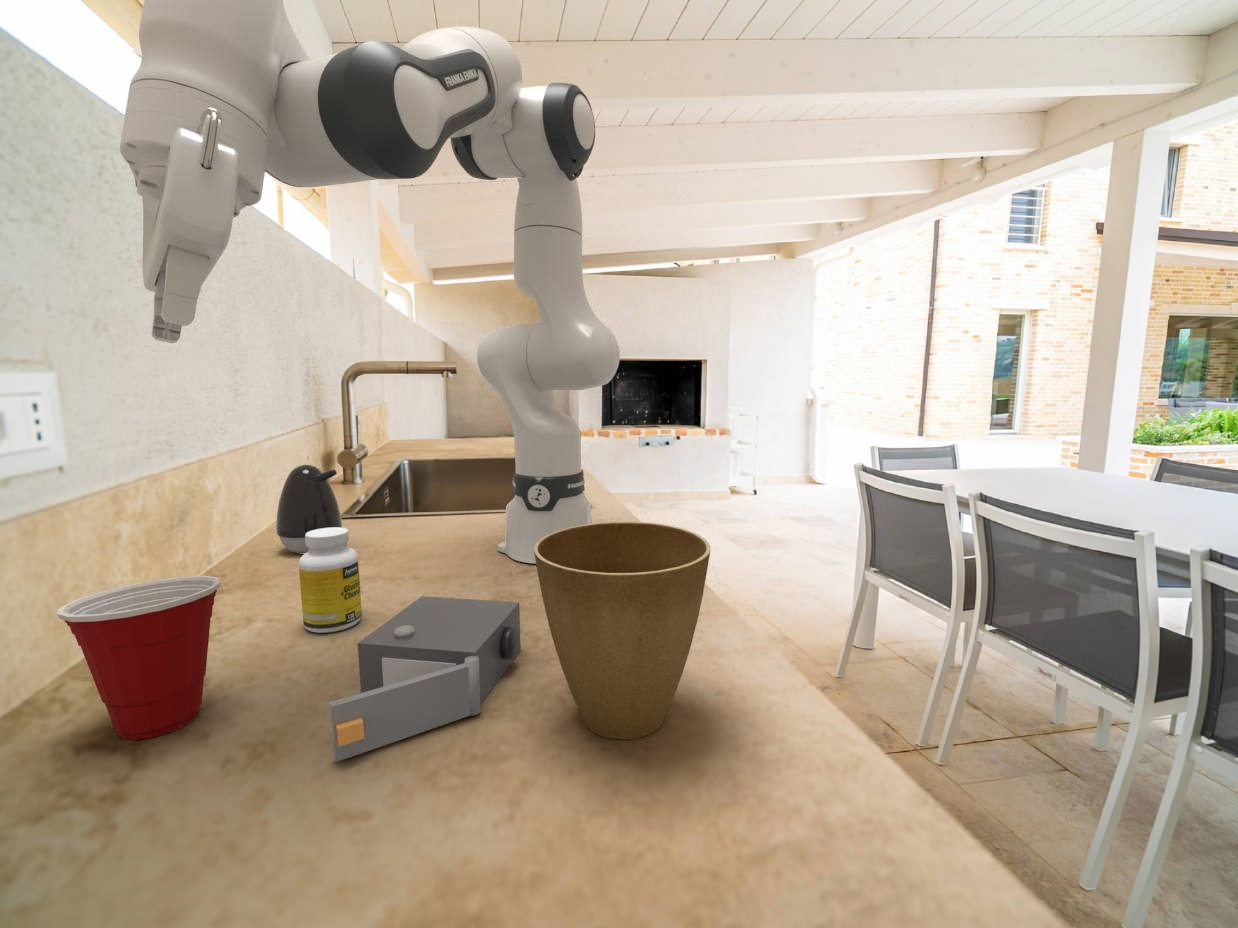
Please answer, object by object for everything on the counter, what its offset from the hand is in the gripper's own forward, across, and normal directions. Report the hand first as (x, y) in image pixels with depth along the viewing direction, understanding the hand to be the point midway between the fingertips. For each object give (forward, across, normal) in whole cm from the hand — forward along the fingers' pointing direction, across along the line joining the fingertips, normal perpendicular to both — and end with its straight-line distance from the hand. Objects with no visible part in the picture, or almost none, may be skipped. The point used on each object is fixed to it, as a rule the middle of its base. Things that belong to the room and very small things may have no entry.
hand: (170, 332), depth 44 cm
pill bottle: (+28, +20, -21) cm, 41 cm away
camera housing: (+28, 0, -26) cm, 39 cm away
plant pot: (+28, -18, -34) cm, 48 cm away
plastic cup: (+33, +9, -4) cm, 34 cm away
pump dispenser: (+24, +56, -27) cm, 67 cm away
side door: (+30, -9, -19) cm, 37 cm away
